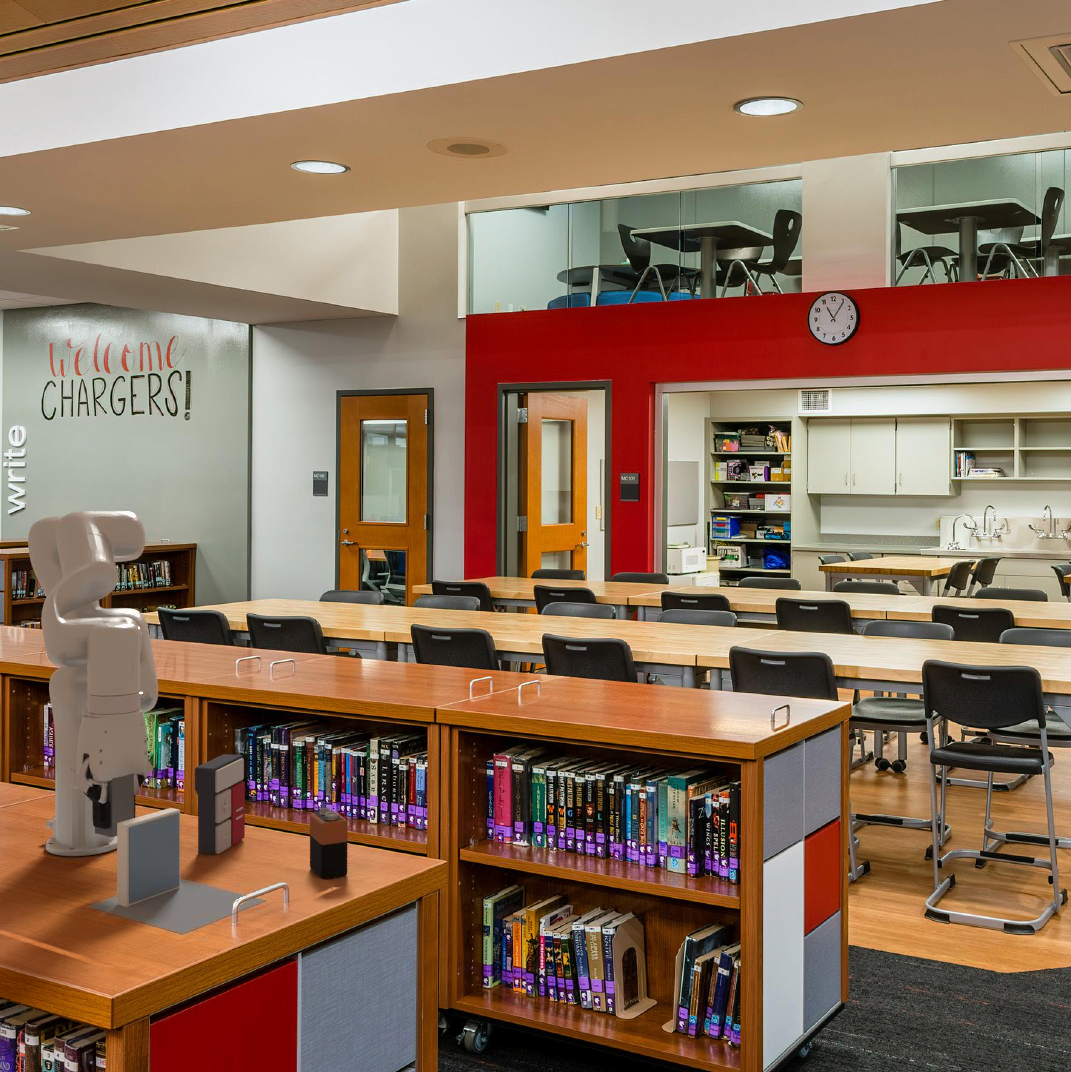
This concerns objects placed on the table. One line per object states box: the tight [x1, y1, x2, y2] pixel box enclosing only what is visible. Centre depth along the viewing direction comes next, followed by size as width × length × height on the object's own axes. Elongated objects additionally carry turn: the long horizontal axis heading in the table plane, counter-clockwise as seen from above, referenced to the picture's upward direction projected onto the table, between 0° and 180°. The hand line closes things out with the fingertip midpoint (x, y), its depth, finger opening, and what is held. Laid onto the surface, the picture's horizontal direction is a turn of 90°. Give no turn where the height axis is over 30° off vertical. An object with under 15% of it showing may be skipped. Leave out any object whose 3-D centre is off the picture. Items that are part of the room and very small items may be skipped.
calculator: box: [194, 753, 246, 856], centre depth 202 cm, size 11×4×15 cm, turn 168°
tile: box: [116, 807, 181, 907], centre depth 176 cm, size 2×10×12 cm, turn 149°
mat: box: [86, 878, 267, 935], centre depth 173 cm, size 20×16×1 cm
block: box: [95, 773, 134, 837], centre depth 180 cm, size 4×4×9 cm
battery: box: [309, 807, 349, 880], centre depth 189 cm, size 4×7×10 cm, turn 28°
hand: (114, 822), depth 180 cm, fingers closed on block, 4 cm apart
